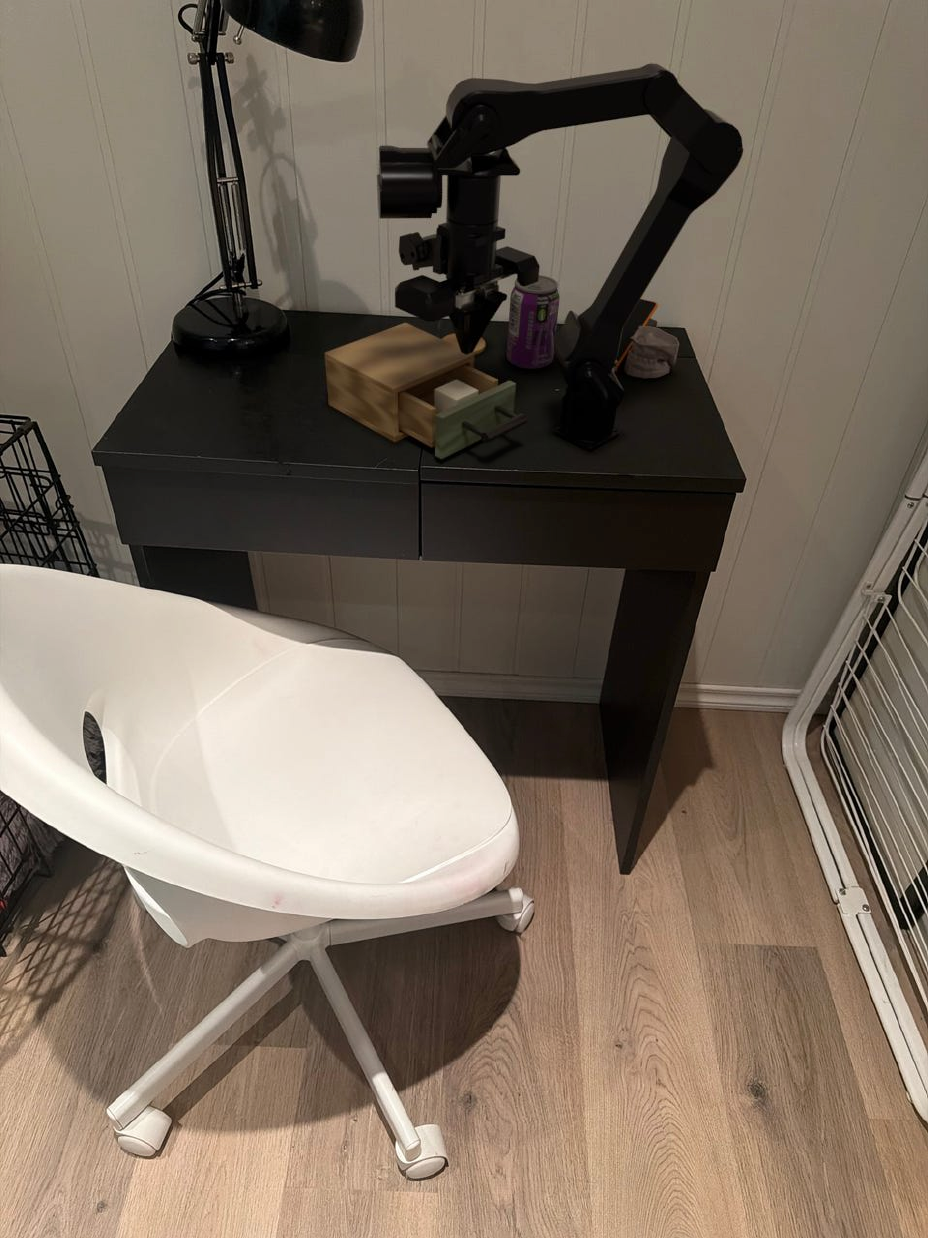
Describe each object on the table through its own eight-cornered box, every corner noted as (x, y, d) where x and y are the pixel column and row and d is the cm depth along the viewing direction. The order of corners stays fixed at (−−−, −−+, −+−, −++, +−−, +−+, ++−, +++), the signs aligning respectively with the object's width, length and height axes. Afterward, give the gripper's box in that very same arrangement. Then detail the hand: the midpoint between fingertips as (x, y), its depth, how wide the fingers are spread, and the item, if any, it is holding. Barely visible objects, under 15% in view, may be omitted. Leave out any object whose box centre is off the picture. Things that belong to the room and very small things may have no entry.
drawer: (540, 437, 110) (545, 396, 106) (469, 475, 103) (471, 433, 99) (447, 390, 119) (448, 351, 115) (375, 422, 112) (373, 381, 108)
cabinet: (472, 405, 118) (474, 354, 113) (394, 442, 110) (393, 388, 105) (406, 372, 125) (405, 322, 119) (328, 404, 117) (324, 352, 111)
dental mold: (658, 353, 120) (652, 385, 124) (688, 340, 124) (682, 372, 127) (615, 335, 125) (611, 367, 128) (646, 323, 128) (641, 354, 131)
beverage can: (549, 375, 125) (558, 294, 117) (502, 369, 126) (507, 289, 118) (555, 354, 131) (563, 276, 122) (510, 349, 131) (515, 271, 123)
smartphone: (659, 305, 131) (659, 301, 130) (611, 379, 125) (611, 375, 124) (614, 295, 134) (614, 291, 133) (565, 367, 128) (565, 363, 127)
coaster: (494, 346, 132) (494, 343, 131) (463, 360, 128) (463, 356, 128) (462, 332, 135) (462, 328, 135) (431, 345, 132) (431, 341, 131)
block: (477, 421, 111) (478, 390, 108) (455, 432, 108) (456, 400, 105) (455, 410, 113) (456, 379, 110) (433, 420, 110) (434, 388, 107)
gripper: (477, 184, 101) (471, 311, 112) (358, 216, 91) (365, 353, 102) (548, 206, 96) (535, 338, 106) (431, 243, 86) (429, 385, 96)
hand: (466, 352), depth 103 cm, fingers closed
